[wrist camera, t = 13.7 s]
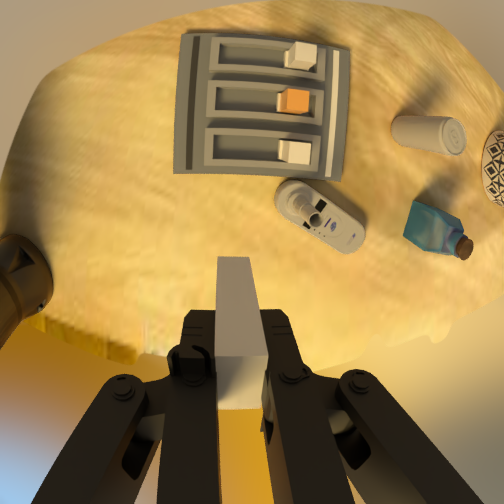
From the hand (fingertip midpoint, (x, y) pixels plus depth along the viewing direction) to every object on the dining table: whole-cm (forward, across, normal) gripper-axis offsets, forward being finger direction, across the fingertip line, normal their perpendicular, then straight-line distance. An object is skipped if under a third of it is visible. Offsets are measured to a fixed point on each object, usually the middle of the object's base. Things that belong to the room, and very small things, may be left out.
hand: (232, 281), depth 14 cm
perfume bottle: (+25, +32, -3) cm, 41 cm away
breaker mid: (+23, +7, +12) cm, 27 cm away
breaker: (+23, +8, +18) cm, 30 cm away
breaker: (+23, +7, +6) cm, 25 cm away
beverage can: (+25, +25, +11) cm, 37 cm away
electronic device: (+25, +13, -3) cm, 28 cm away
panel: (+24, +4, +12) cm, 27 cm away
